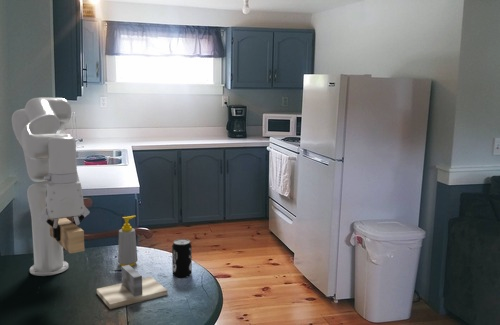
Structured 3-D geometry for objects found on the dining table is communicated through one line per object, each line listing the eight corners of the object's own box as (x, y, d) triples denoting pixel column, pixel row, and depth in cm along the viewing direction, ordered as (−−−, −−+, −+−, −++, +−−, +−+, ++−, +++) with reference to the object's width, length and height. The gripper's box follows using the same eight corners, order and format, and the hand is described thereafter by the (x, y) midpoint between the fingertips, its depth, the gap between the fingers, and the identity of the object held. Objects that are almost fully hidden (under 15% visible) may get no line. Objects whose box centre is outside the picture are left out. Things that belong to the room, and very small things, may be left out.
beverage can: (188, 279, 156) (187, 245, 154) (169, 277, 157) (169, 243, 155) (194, 272, 162) (194, 239, 161) (176, 270, 164) (176, 237, 162)
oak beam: (50, 235, 145) (49, 217, 144) (63, 233, 147) (62, 215, 146) (70, 253, 129) (69, 232, 128) (84, 250, 132) (83, 230, 131)
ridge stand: (96, 293, 144) (95, 270, 143) (151, 280, 154) (150, 259, 153) (110, 309, 134) (109, 284, 133) (167, 294, 144) (167, 271, 143)
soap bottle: (140, 265, 169) (139, 217, 166) (122, 269, 164) (121, 220, 162) (133, 259, 174) (132, 213, 171) (115, 263, 170) (113, 216, 167)
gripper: (34, 183, 127) (38, 247, 130) (96, 177, 137) (98, 237, 140) (29, 179, 134) (33, 240, 136) (89, 174, 143) (91, 231, 146)
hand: (66, 237), depth 138 cm, fingers closed on oak beam, 4 cm apart
